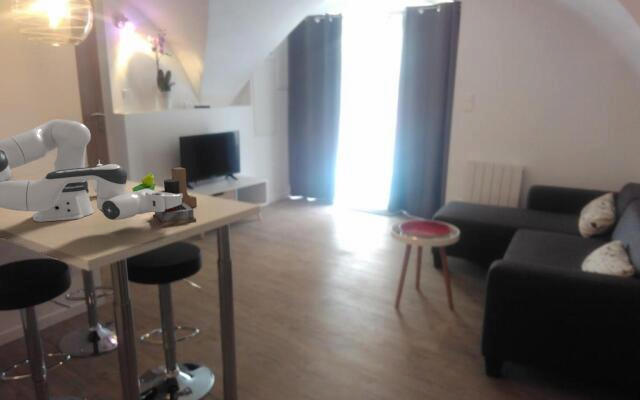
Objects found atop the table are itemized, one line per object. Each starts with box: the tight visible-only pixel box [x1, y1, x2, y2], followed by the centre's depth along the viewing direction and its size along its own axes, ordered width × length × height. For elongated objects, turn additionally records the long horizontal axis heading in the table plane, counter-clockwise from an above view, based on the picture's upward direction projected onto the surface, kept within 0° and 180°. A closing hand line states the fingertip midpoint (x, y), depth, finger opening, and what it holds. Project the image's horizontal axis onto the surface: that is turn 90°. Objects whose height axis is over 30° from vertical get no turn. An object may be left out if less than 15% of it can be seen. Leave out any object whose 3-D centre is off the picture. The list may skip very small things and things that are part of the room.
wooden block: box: [171, 166, 198, 209], centre depth 207 cm, size 9×4×18 cm, turn 134°
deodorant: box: [163, 178, 181, 212], centre depth 189 cm, size 6×6×15 cm
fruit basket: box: [131, 172, 156, 193], centre depth 227 cm, size 11×9×11 cm
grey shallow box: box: [152, 203, 197, 227], centre depth 191 cm, size 14×14×5 cm
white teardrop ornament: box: [91, 159, 103, 194], centre depth 226 cm, size 8×8×18 cm
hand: (172, 193), depth 189 cm, fingers open, 8 cm apart
